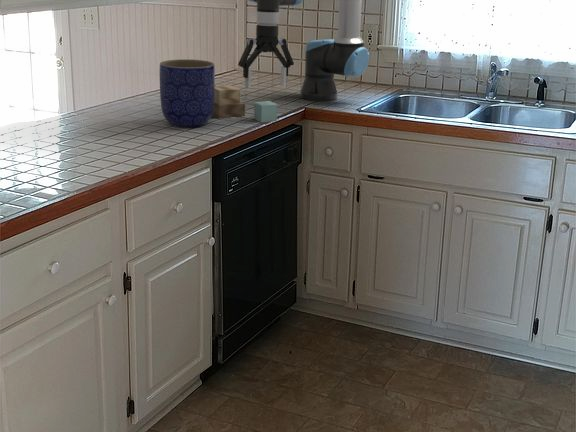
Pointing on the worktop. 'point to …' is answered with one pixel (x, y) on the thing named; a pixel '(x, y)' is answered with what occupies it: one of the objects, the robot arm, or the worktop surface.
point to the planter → (187, 91)
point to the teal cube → (265, 111)
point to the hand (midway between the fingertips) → (265, 86)
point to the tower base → (229, 110)
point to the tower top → (227, 95)
